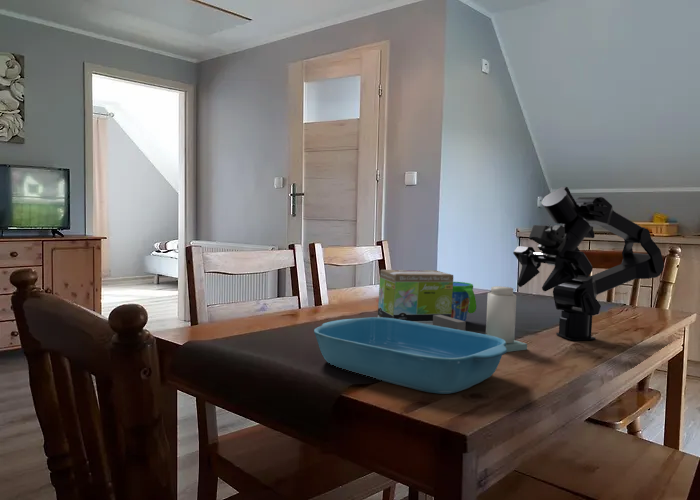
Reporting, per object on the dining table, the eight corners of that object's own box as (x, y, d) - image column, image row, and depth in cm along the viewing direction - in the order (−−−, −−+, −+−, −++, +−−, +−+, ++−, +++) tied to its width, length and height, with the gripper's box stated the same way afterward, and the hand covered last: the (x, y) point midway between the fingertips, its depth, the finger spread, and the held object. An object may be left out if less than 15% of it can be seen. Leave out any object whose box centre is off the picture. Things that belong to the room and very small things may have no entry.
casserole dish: (290, 362, 105) (291, 324, 105) (366, 343, 122) (367, 311, 122) (463, 412, 81) (465, 364, 81) (528, 380, 98) (530, 340, 97)
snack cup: (418, 317, 154) (419, 280, 153) (449, 315, 158) (451, 279, 158) (452, 328, 140) (454, 288, 139) (486, 325, 144) (487, 286, 144)
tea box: (392, 338, 127) (394, 273, 126) (376, 329, 136) (378, 268, 135) (451, 335, 132) (454, 273, 131) (432, 327, 141) (434, 268, 140)
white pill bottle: (500, 336, 125) (502, 285, 125) (520, 341, 120) (522, 289, 119) (479, 338, 123) (482, 286, 122) (499, 344, 117) (501, 290, 117)
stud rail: (500, 341, 127) (501, 309, 126) (526, 349, 120) (528, 316, 119) (431, 349, 118) (433, 315, 117) (456, 358, 111) (457, 322, 110)
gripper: (520, 212, 134) (483, 259, 130) (586, 213, 118) (546, 267, 114) (542, 244, 139) (507, 291, 134) (609, 250, 122) (571, 303, 118)
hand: (530, 287), depth 125 cm, fingers open, 7 cm apart
